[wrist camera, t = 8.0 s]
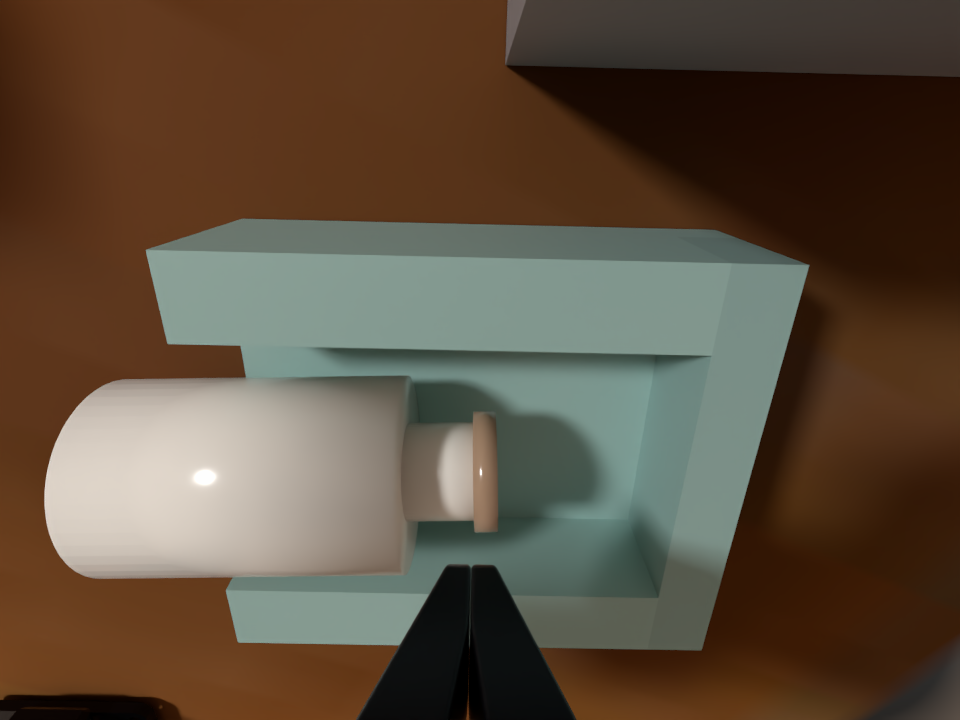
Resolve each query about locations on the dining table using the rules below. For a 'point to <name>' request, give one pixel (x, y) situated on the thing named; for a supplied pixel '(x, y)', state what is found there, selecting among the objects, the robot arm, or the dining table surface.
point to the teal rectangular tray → (519, 403)
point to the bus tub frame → (739, 35)
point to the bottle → (261, 477)
